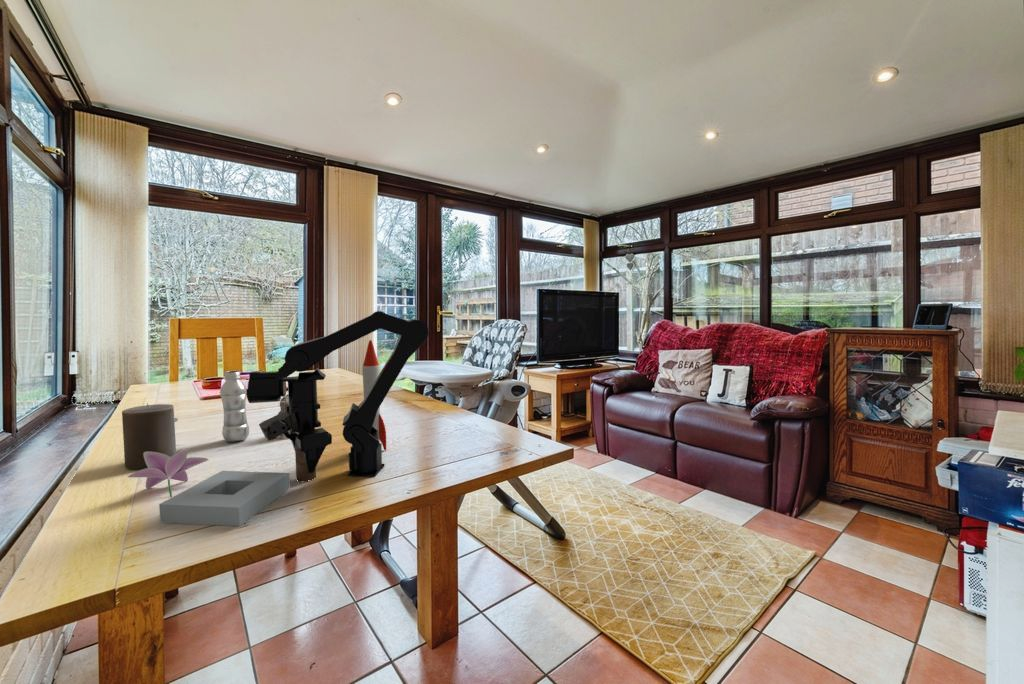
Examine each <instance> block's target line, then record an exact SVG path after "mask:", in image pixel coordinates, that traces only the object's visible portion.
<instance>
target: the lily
mask: <svg viewBox="0 0 1024 684" xmlns="http://www.w3.org/2000/svg"><path fill="white" fill-rule="evenodd" d="M188 453H189V449H187V448H185V449H183V450H180V451H178V452H176V454H175V455H173V456H171V457H169V456H168V455H165V454H162V453H157V452H148V451H147V452H144V453H143V456H144V459H145V462H146V465H147V467H148V468H146V469H139V470H137V471H135V472H132V473H131V474H128V475H127V478H146V479H145V488H146V489H147V490H148V489H151V488H153V487H155V486H156V485H158V484H160V483H162V482H164V481H166V480H167V485H168V493H169V497H170V498H172V497H173V494H172V487H171V480H174V481H180V482H188V480H189V477H188V474H187V473H188V472H187V470H189V469H190V468H193V467H194V466H197V465H200V464H202V463H205V462H208V461H209V459H208V458H206V457H194V456H193V457H192V456H191V457H188Z"/></svg>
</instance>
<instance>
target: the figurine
mask: <svg viewBox="0 0 1024 684" xmlns="http://www.w3.org/2000/svg"><path fill="white" fill-rule="evenodd" d="M287 404H289V397H288V394H287V393H286V396H285V397H281V400H280V401H279V408H280V410H279V412H278V413H277V415H278V414H281V413H283V412H285V406H287ZM277 437H278V438H277ZM277 437H276V438H277V439H280V438H287V437H286V436H285V435H284V434H281V435H279V436H277Z"/></svg>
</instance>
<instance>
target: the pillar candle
mask: <svg viewBox="0 0 1024 684" xmlns="http://www.w3.org/2000/svg"><path fill="white" fill-rule="evenodd" d="M121 418H122V419H121V422H122V434H123V435H122V436H123V439H122V440H123V451H124V452H123V454H124V455H123V457H124V467H125V468H126V469H127V468H128V469H127V470H132V469H134V470H142V469H146V468H148V467H147V465H146V462H145V459H144V456H143V453H144V452H147V451H148V452H157V453H162V454H165V455H168V456H169V457H171V456H173V455H175V454H176V453H177V445H176V441H177V440H176V425H175V407H174V405H173V404H169V403H168V404H167V403H166V404H164V403H163V404H162V403H161V404H148V402H146V405H138V406H133V407H130V408H126V409H123V410H121Z"/></svg>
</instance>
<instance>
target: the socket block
mask: <svg viewBox="0 0 1024 684" xmlns="http://www.w3.org/2000/svg"><path fill="white" fill-rule="evenodd" d="M289 488H290V489H291V484H290V473H289V472H274V471H273V472H272V471H271V472H269V471H267V472H265V471H244V470H243V471H239V470H238V471H237V470H221V471H219V472H217V473H215V474H213V475H211V476H210V477H208V478H205V479H204V480H202V481H200V482H198V483H197V484H194V485H193V486H191V487H189V488H187V489H185V490H183V491H182V492H180V493H178V494H176V495H174V496H172V497H170V498H168V499H167V500H165V501H163V502H161V503H159V504H158V506H159V507H158V508H159V517H160V518H159V519H160V521H159V523H161V524H182V525H206V526H227V527H241V526H242V525H243V524H245V523H246V522H247V521H249V520H250V519H252V518H253V517H254V516H255V515H257V514H258V513H259V512H261V511H262V510H264V509H265V508H266V507H267V506H269V505H271V504H272V503H273V502H274V501H276V500H277V499H278V498H279V496H280V495H281V496H283V493H284V492H285V493H286V492H287V490H288V489H289ZM290 489H289V490H290ZM289 490H288V491H289ZM285 493H284V494H285ZM281 496H280V497H281ZM276 498H277V499H276ZM275 499H276V500H275ZM271 502H272V503H271Z"/></svg>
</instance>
